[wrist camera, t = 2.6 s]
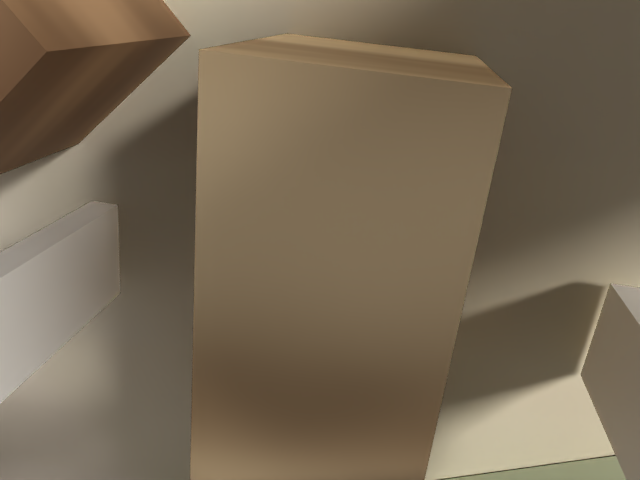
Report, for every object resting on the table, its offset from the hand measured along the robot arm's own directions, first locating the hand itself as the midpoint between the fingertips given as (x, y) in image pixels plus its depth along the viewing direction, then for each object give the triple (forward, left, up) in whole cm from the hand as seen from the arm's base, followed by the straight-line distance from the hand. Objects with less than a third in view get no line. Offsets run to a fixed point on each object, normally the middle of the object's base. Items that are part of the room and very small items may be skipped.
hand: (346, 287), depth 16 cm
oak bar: (0, 0, -1) cm, 1 cm away
